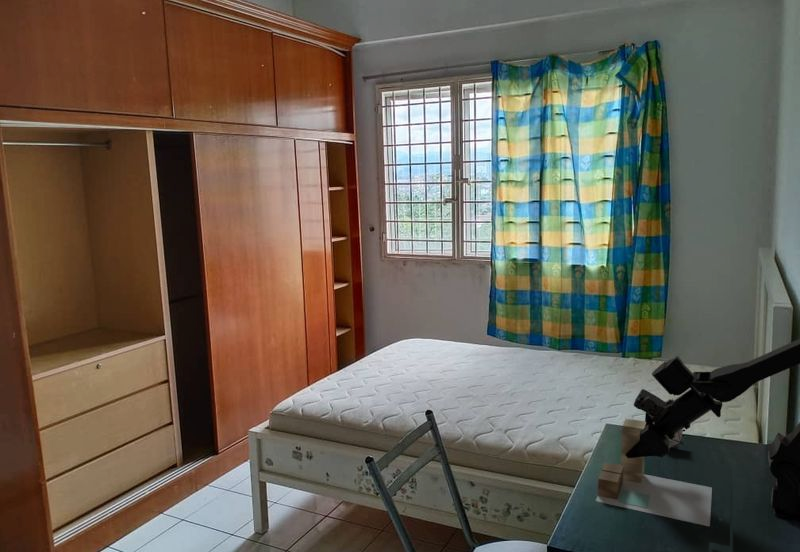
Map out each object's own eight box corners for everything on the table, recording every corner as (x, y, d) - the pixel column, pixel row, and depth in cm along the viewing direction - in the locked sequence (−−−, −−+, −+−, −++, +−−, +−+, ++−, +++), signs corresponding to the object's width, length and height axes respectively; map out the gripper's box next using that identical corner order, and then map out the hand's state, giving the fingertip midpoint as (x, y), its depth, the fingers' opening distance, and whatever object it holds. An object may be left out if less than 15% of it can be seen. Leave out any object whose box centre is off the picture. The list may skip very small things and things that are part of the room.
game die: (659, 463, 159) (637, 435, 158) (663, 440, 166) (642, 413, 164) (693, 456, 154) (670, 426, 152) (695, 432, 160) (674, 404, 159)
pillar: (643, 474, 144) (646, 421, 142) (641, 483, 140) (643, 429, 138) (623, 470, 146) (625, 418, 144) (620, 479, 142) (622, 425, 140)
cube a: (619, 491, 137) (620, 474, 136) (616, 499, 134) (617, 482, 133) (601, 487, 139) (601, 470, 138) (597, 495, 135) (598, 478, 135)
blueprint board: (711, 491, 138) (712, 487, 138) (709, 530, 123) (709, 525, 123) (608, 471, 148) (609, 466, 148) (595, 505, 133) (595, 500, 133)
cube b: (622, 482, 141) (623, 465, 140) (620, 490, 137) (620, 473, 137) (604, 478, 143) (605, 462, 142) (601, 486, 139) (602, 469, 139)
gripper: (661, 369, 146) (610, 406, 152) (654, 395, 129) (597, 435, 136) (696, 406, 143) (642, 442, 150) (693, 437, 127) (633, 476, 134)
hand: (629, 448), depth 143 cm, fingers open, 9 cm apart
